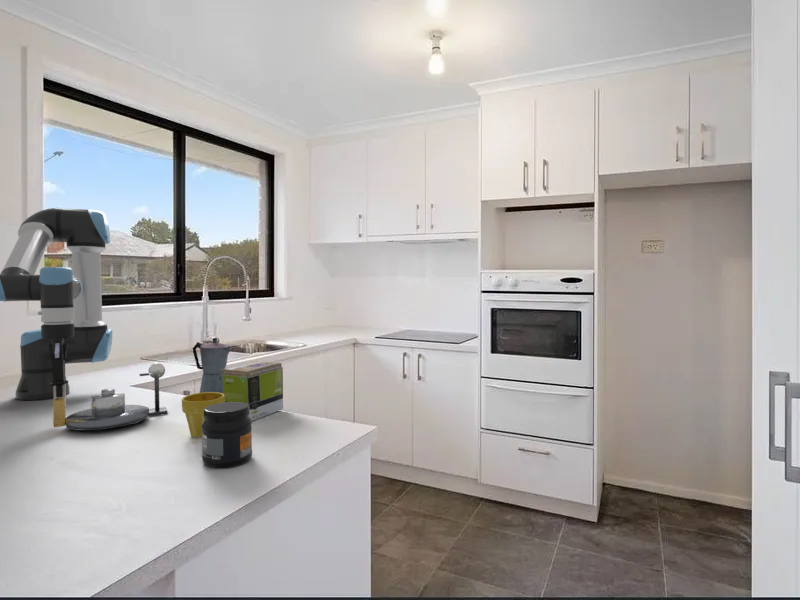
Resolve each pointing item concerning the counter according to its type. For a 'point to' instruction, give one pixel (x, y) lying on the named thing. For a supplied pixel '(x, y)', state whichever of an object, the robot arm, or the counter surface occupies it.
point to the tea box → (255, 387)
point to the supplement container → (226, 434)
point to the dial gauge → (156, 387)
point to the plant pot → (199, 409)
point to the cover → (108, 403)
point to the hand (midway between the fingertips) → (60, 407)
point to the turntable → (88, 422)
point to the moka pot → (212, 365)
